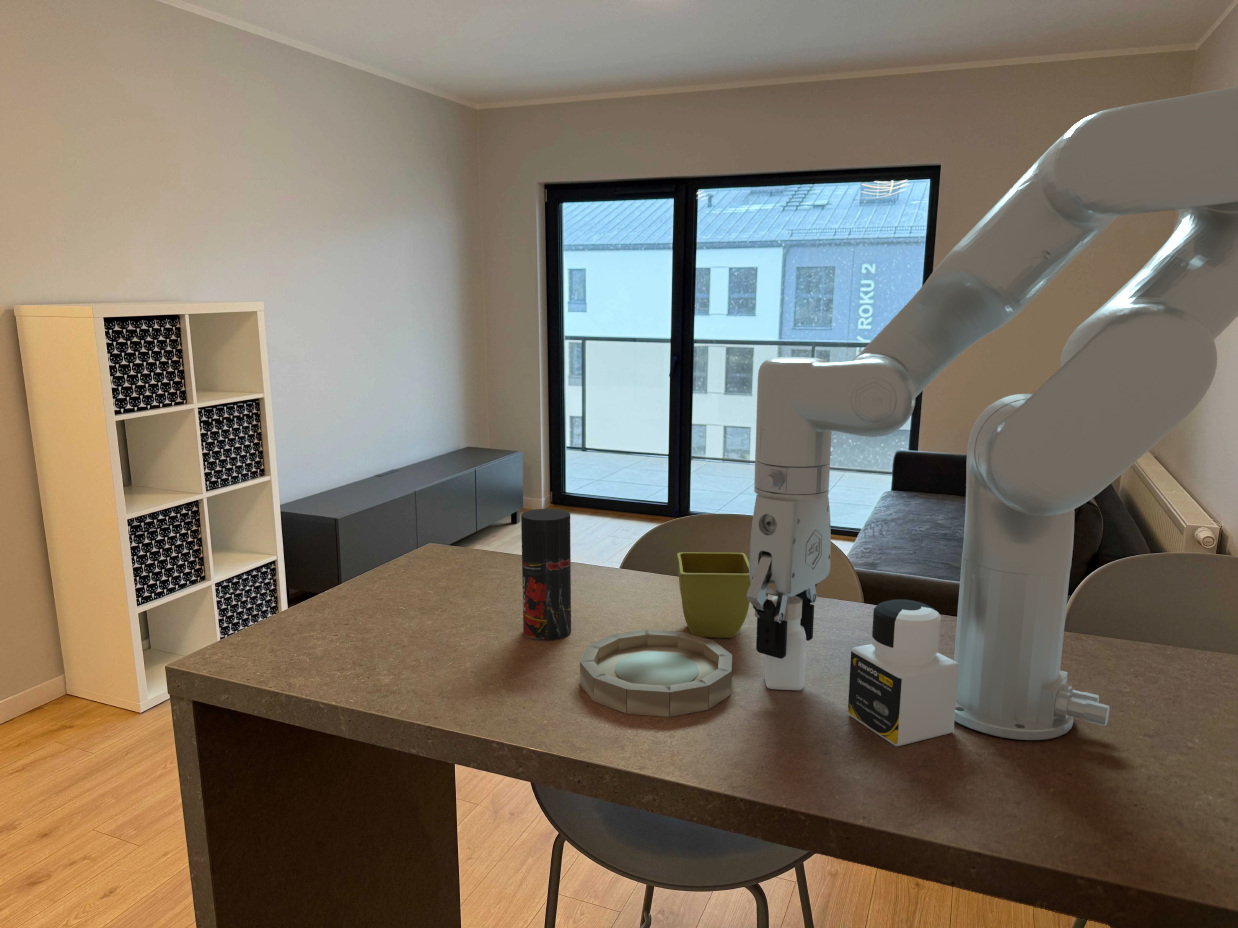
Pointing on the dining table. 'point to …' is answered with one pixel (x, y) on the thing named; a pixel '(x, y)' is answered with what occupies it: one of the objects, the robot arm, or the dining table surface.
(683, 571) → the flower pot
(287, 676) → the dining table surface
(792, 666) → the pepper shaker
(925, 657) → the medicine bottle
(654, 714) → the tray
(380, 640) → the dining table surface
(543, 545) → the deodorant
